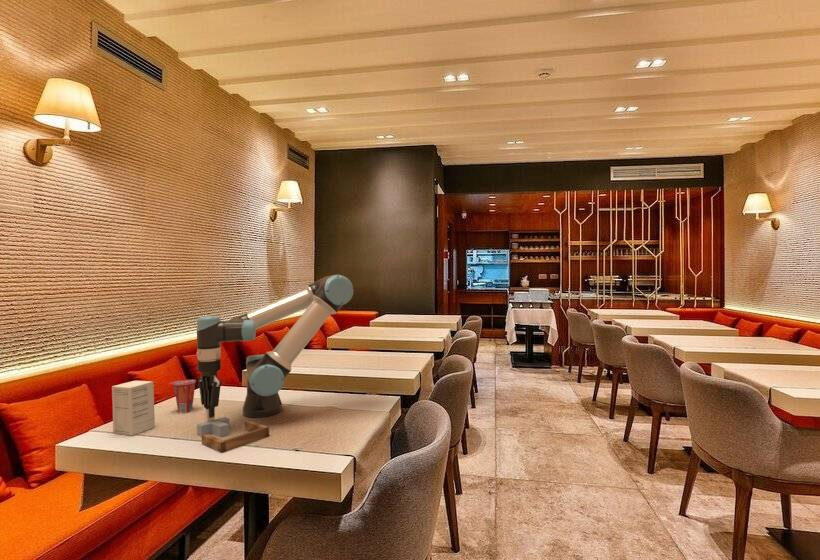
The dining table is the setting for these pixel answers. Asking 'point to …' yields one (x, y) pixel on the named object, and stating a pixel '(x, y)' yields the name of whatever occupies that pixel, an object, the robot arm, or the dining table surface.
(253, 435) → the dock
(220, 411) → the dining table surface
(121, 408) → the supplement box
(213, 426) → the t block
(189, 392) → the cup
